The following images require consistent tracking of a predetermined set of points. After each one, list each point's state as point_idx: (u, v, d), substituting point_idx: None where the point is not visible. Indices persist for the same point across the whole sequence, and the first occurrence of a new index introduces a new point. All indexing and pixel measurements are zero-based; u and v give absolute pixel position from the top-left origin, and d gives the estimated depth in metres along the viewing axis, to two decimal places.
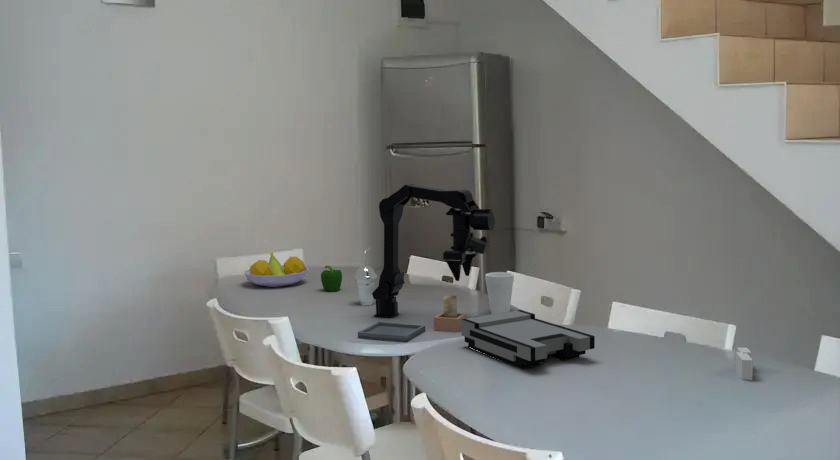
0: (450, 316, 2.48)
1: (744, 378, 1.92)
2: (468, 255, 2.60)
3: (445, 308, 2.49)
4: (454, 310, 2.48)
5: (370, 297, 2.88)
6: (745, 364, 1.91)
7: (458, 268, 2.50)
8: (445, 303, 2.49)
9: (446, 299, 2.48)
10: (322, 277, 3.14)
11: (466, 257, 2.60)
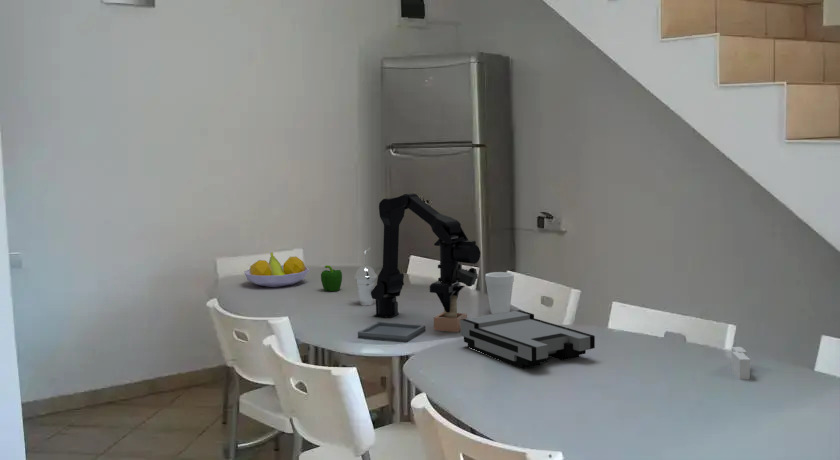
0: (450, 316, 2.48)
1: (742, 377, 1.92)
2: (454, 288, 2.52)
3: None
4: (454, 310, 2.48)
5: (370, 297, 2.88)
6: (743, 364, 1.92)
7: (448, 299, 2.46)
8: None
9: None
10: (322, 277, 3.14)
11: (452, 290, 2.52)
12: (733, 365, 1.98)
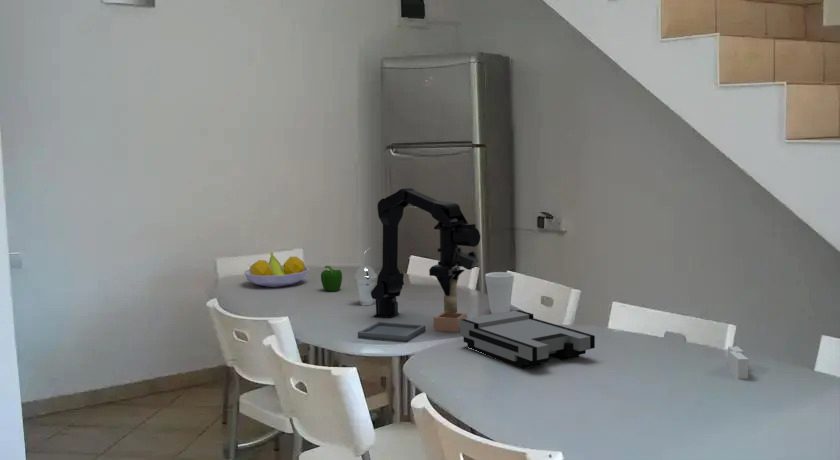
0: (450, 299, 2.48)
1: (740, 377, 1.93)
2: (453, 272, 2.51)
3: None
4: (454, 293, 2.48)
5: (370, 297, 2.88)
6: (741, 363, 1.92)
7: (448, 283, 2.45)
8: None
9: None
10: (322, 277, 3.14)
11: (451, 274, 2.51)
12: (731, 365, 1.98)
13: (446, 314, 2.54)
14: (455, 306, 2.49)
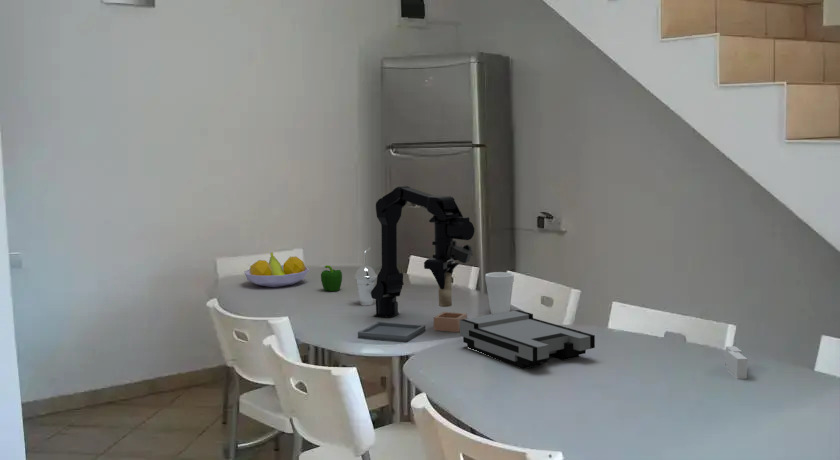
0: (444, 293, 2.47)
1: (739, 377, 1.93)
2: (448, 265, 2.50)
3: None
4: (448, 287, 2.47)
5: (370, 297, 2.88)
6: (740, 363, 1.93)
7: (443, 276, 2.45)
8: None
9: None
10: (322, 277, 3.14)
11: (446, 267, 2.51)
12: (729, 365, 1.98)
13: (446, 314, 2.54)
14: (450, 299, 2.48)
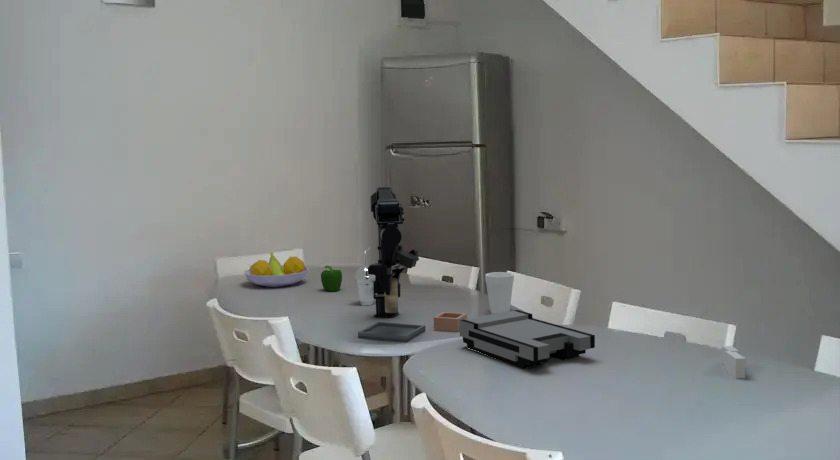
0: (390, 299, 2.41)
1: (737, 376, 1.93)
2: (395, 270, 2.45)
3: None
4: (394, 293, 2.41)
5: (370, 297, 2.88)
6: (739, 363, 1.93)
7: (388, 282, 2.39)
8: None
9: None
10: (322, 277, 3.14)
11: (393, 272, 2.45)
12: (726, 364, 1.98)
13: (446, 314, 2.54)
14: (396, 305, 2.42)
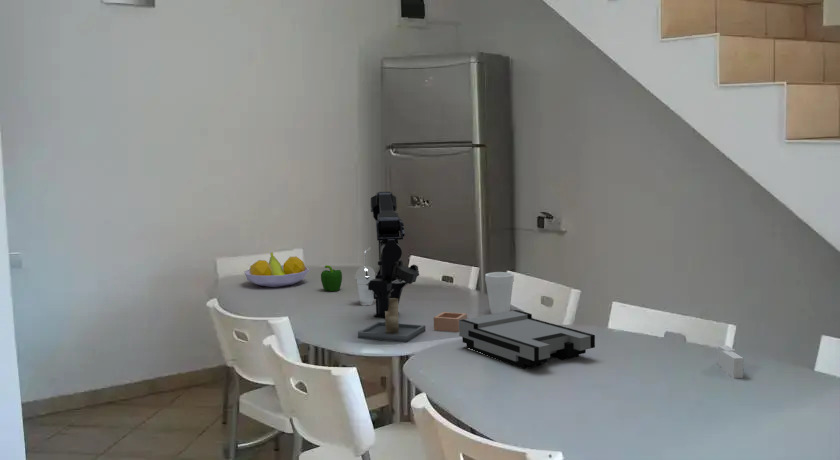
0: (391, 319, 2.42)
1: (735, 376, 1.94)
2: (397, 284, 2.46)
3: (386, 311, 2.43)
4: (395, 313, 2.42)
5: (370, 297, 2.88)
6: (737, 362, 1.93)
7: (386, 298, 2.38)
8: None
9: None
10: (322, 277, 3.14)
11: (395, 287, 2.46)
12: (724, 364, 1.99)
13: (446, 314, 2.54)
14: (396, 326, 2.43)
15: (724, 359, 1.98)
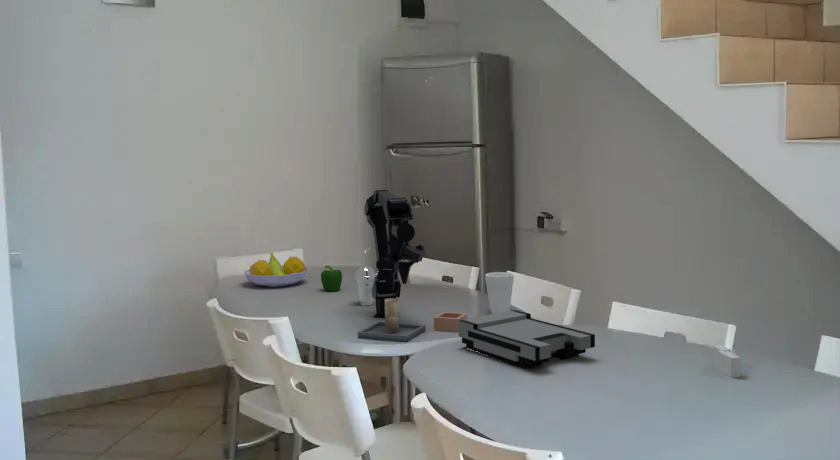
0: (391, 319, 2.42)
1: (733, 376, 1.94)
2: (405, 263, 2.57)
3: (386, 311, 2.42)
4: (395, 313, 2.42)
5: (370, 297, 2.88)
6: (734, 362, 1.94)
7: (392, 277, 2.47)
8: (386, 306, 2.42)
9: (387, 302, 2.42)
10: (322, 277, 3.14)
11: (403, 265, 2.57)
12: (720, 364, 1.99)
13: (446, 314, 2.54)
14: (396, 326, 2.43)
15: (720, 359, 1.99)
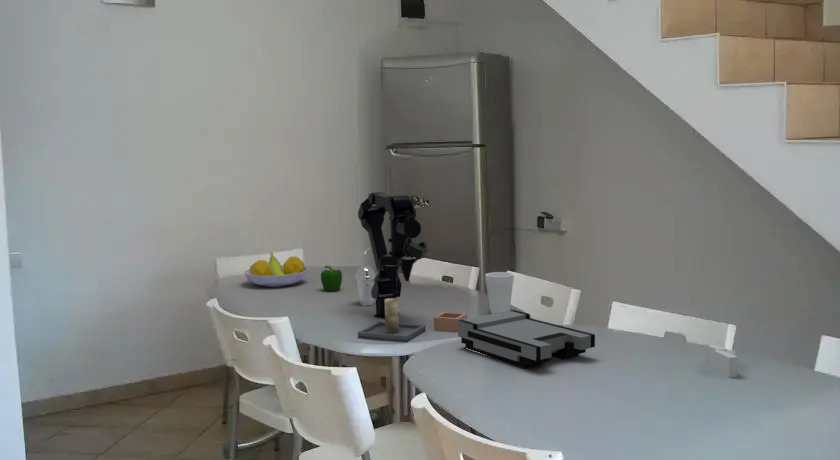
0: (391, 319, 2.42)
1: (731, 375, 1.94)
2: (408, 260, 2.61)
3: (386, 311, 2.42)
4: (395, 313, 2.42)
5: (370, 297, 2.88)
6: (732, 361, 1.94)
7: (395, 273, 2.51)
8: (386, 306, 2.42)
9: (387, 302, 2.42)
10: (322, 277, 3.14)
11: (406, 262, 2.61)
12: (716, 363, 1.99)
13: (446, 314, 2.54)
14: (396, 326, 2.43)
15: (717, 358, 1.99)
